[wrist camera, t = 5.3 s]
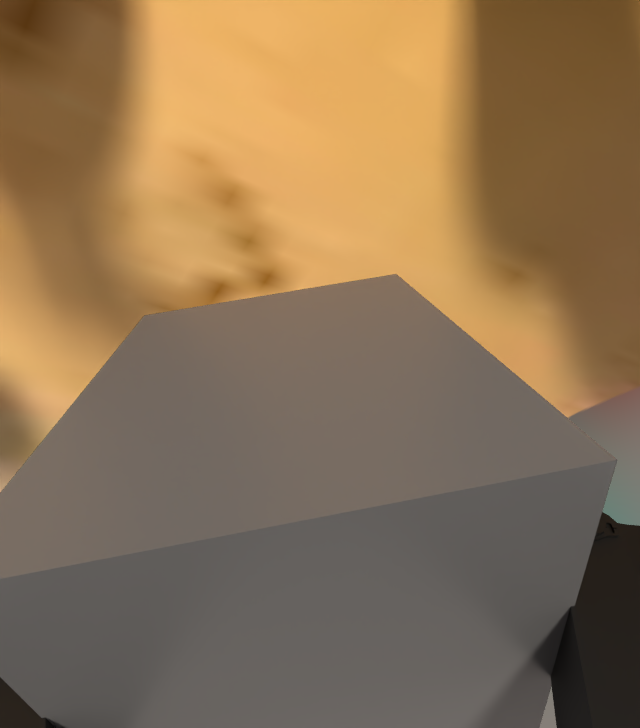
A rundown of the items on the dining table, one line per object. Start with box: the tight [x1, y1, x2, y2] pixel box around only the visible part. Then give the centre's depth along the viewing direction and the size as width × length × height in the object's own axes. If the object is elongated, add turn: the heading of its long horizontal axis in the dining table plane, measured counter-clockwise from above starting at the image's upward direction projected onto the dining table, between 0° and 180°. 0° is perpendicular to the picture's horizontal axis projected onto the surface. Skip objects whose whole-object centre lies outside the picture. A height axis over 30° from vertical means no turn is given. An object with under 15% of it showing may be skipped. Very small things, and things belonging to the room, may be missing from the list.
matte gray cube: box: [0, 274, 617, 728], centre depth 11 cm, size 9×9×10 cm
